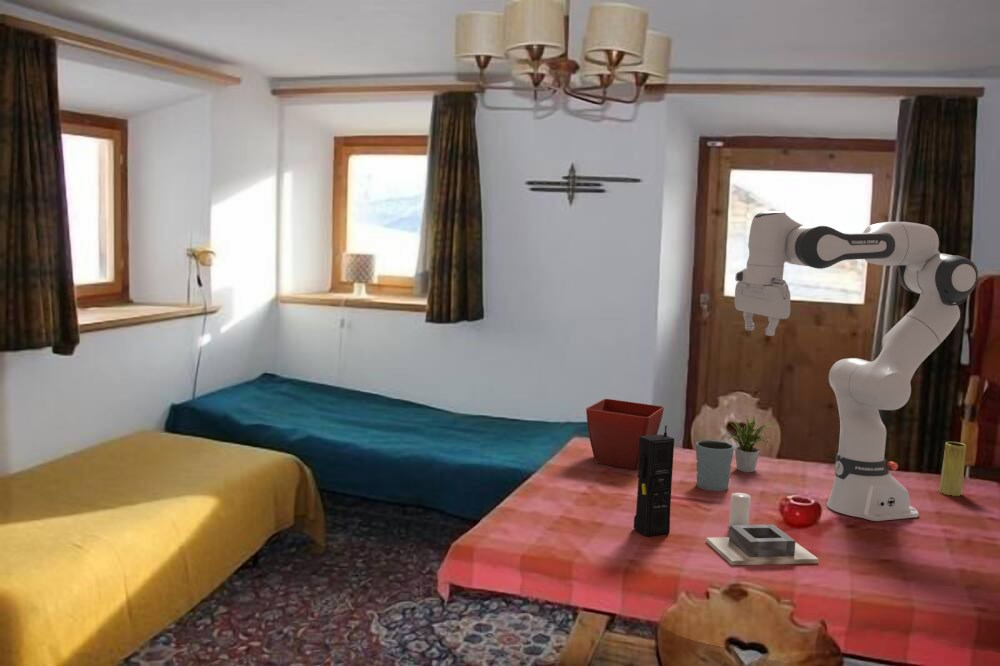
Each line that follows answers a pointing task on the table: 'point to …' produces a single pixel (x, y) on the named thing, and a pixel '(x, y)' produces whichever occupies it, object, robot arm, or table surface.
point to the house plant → (747, 446)
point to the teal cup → (713, 464)
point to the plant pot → (621, 430)
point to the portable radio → (654, 484)
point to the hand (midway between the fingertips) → (759, 332)
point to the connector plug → (739, 509)
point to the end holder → (760, 546)
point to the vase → (953, 469)
